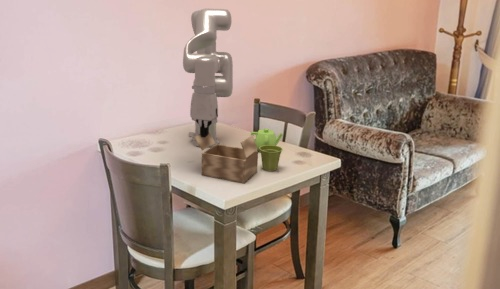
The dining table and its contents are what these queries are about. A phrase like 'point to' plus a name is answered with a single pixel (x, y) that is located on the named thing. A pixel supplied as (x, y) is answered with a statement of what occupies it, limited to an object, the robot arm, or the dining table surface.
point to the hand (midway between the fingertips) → (204, 136)
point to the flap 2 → (249, 146)
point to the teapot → (266, 138)
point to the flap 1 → (204, 141)
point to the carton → (229, 163)
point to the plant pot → (270, 156)
